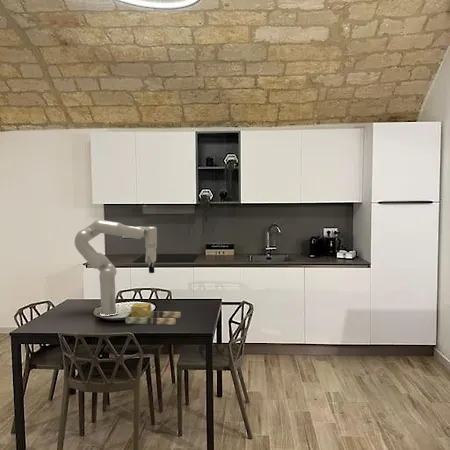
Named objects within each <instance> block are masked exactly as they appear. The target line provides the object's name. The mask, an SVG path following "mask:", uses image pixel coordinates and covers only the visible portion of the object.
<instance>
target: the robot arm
mask: <svg viewBox="0 0 450 450" xmlns="http://www.w3.org/2000/svg"><path fill="white" fill-rule="evenodd" d="M157 230H158V229H157V226H149V225H148V226H141V225H139V226H133V225H132V226H131V225H127V224H126V225H125V224H123V223H121V222H118V221H110V220H105V219H103V218H98V219H95V220H94V222H92V223H91V224H89V225H88V226H86V227H84V228H83V229H81V230H79V231H78V232H77V233H76V235H75V238H74V246H75V249H76V250H77V251H78V253H79V254H80V255H81V256H82V258H83V259H84V260H85V261H86V262H87V264H88V265H90V267H91V268H93V269H94V270H95V269H96V270H98V271H99V277H98V278H99V285H100V287H99V288H100V307H95V309H94V311H95V312H100V313H101V314H105V315H108V314H109V315H110V314H115V313H116V311H117V310H116V309H117V307H116V306H117V305H116V303H117V302H116V300H117V299H116V280H115V278H116V275H117V268H116V266H115V265H114V264H113V263H112V262H111V261H110V260H109V258H108V257H106V255H105V254H104V253H101V252H97V251H96V250H95V249H94V247H93V246H92V245H91V244H90V243H89V242H90V241H91V240H92V239H94V238H95V237H97V236H99V235H101V234H106V235H113V236H118V237H123V238H129V239H136V240H141V239H142V238H144V239H145V240H144V242H145V246H144V247H145V263H146V264H147V263H148V274H154V273H155V262H156V261H157V248H158V231H157Z"/></svg>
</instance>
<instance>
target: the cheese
mask: <svg viewBox="0 0 450 450" xmlns="http://www.w3.org/2000/svg"><path fill="white" fill-rule="evenodd" d="M151 311H152V304H151V302H143V303H142V302H141V303H140V302H139V303H138V302H137V303H134V304H133V305H132V306H131V308H130V312H131V317H137V318H152V317H151Z"/></svg>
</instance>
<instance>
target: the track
mask: <svg viewBox="0 0 450 450" xmlns="http://www.w3.org/2000/svg"><path fill="white" fill-rule="evenodd" d="M181 313H182V311H156V310H155V311H154V310H151V318H137V317H131V311H130V312H129V313H128V314H126V315H125V324H137V325H138V324H139V325H143V324H144V325H169V326H170V325H173V326H174V325H177V322H176V321H177V320H176V318H177V319H181V318H182V317H181V316H182V314H181Z"/></svg>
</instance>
